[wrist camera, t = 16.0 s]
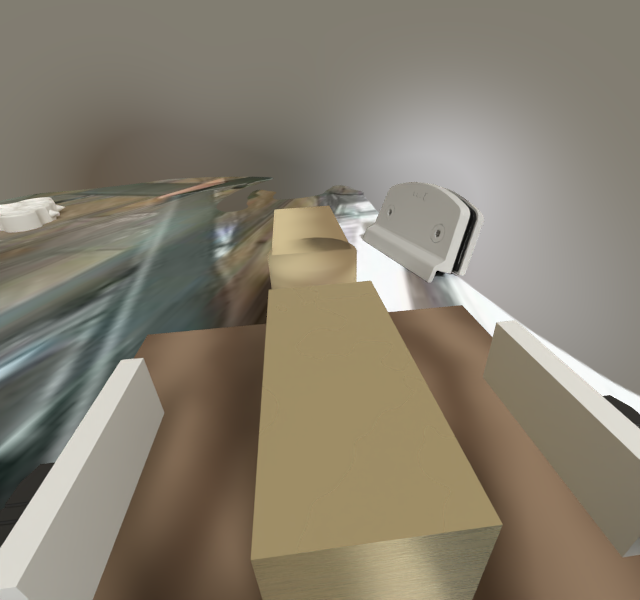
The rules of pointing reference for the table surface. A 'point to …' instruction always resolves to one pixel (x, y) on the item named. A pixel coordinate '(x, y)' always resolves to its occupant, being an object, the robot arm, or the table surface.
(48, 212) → the white egg tray
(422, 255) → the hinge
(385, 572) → the tan wooden brick
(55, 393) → the table surface
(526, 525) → the mounting board
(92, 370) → the table surface
